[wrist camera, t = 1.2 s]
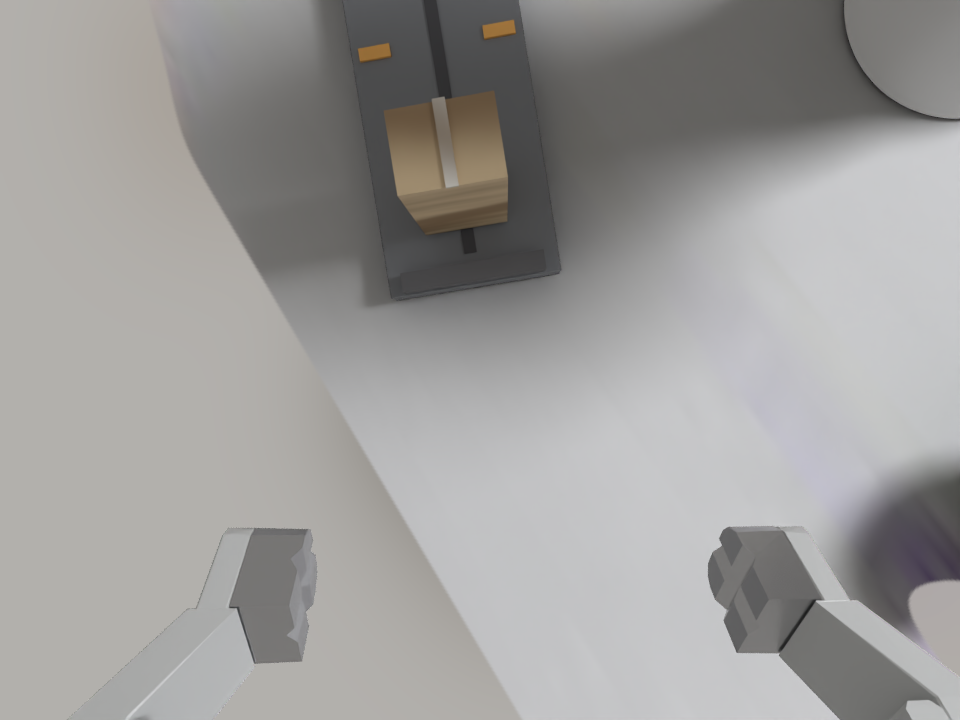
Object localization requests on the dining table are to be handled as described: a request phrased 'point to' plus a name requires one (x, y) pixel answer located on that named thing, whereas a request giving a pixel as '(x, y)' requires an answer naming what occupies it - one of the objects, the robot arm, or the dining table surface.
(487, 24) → the fader track
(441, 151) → the fader knob
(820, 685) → the robot arm
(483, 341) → the dining table surface
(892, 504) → the dining table surface
